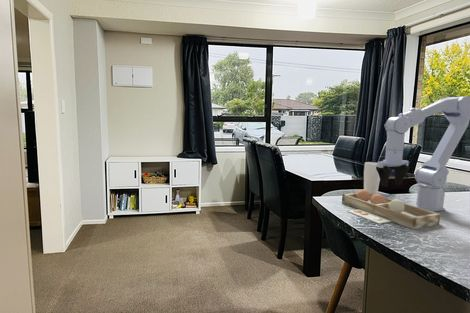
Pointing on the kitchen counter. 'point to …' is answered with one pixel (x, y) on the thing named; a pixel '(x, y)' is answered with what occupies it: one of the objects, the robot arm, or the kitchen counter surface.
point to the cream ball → (396, 205)
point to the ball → (363, 195)
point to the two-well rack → (394, 212)
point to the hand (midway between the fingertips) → (391, 185)
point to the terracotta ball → (377, 199)
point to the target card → (369, 216)
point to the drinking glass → (371, 177)
